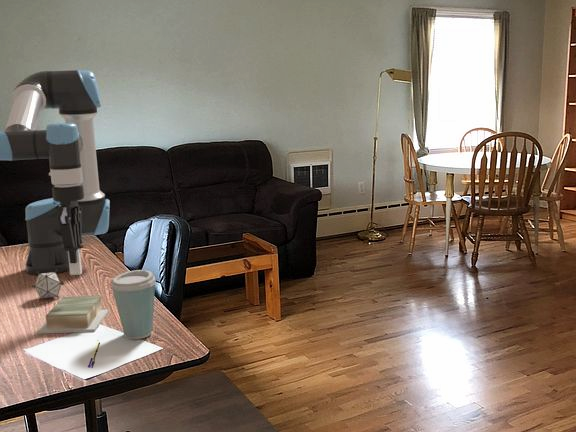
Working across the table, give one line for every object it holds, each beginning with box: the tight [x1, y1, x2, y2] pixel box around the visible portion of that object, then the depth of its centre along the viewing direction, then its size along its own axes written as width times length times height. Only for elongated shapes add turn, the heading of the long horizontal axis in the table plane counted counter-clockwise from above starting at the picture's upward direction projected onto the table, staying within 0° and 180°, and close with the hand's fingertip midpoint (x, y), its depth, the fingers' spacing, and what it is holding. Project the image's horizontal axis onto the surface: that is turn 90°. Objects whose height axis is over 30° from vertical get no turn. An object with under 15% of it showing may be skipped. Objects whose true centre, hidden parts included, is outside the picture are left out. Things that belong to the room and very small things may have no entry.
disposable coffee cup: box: [110, 269, 157, 340], centre depth 150 cm, size 11×11×15 cm
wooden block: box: [45, 295, 103, 329], centre depth 161 cm, size 4×10×14 cm
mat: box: [36, 308, 109, 335], centre depth 160 cm, size 14×14×1 cm
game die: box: [31, 270, 65, 302], centre depth 179 cm, size 9×8×10 cm
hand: (76, 273), depth 163 cm, fingers closed
